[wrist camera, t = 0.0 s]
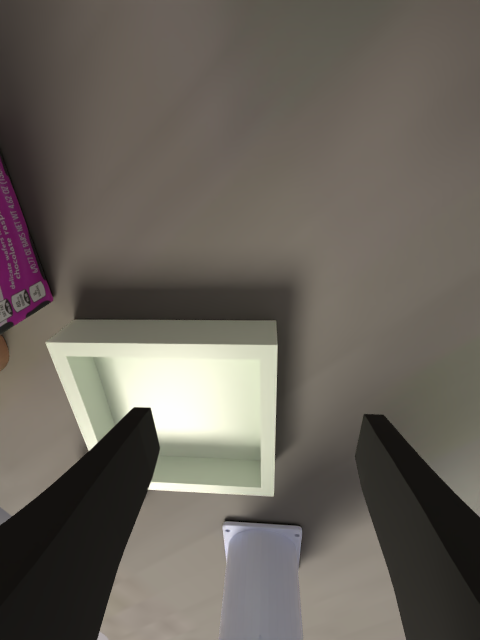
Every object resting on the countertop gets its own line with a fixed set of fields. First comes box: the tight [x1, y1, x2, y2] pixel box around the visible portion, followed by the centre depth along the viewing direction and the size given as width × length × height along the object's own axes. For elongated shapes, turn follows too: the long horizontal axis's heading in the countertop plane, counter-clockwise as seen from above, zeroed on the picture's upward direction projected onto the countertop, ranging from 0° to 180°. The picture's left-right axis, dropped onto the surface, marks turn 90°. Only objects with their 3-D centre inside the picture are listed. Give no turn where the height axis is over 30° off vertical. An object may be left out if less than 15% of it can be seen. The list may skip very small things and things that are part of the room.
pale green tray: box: [46, 320, 278, 496], centre depth 22 cm, size 14×14×3 cm
